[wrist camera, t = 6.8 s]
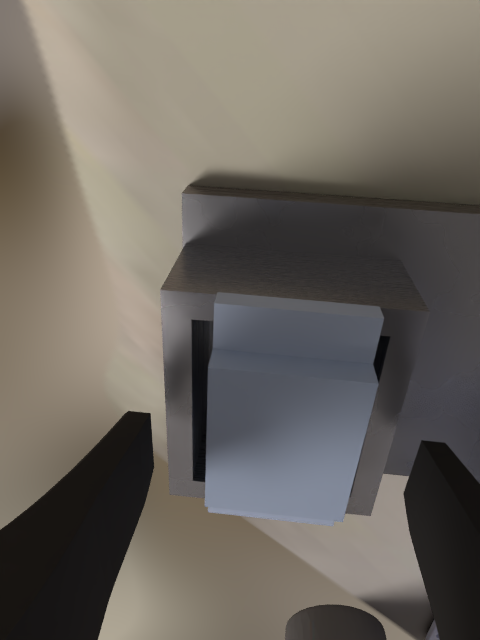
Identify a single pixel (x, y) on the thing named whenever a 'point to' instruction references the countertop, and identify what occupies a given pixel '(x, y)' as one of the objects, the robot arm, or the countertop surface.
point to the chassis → (340, 287)
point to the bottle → (334, 624)
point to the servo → (288, 405)
